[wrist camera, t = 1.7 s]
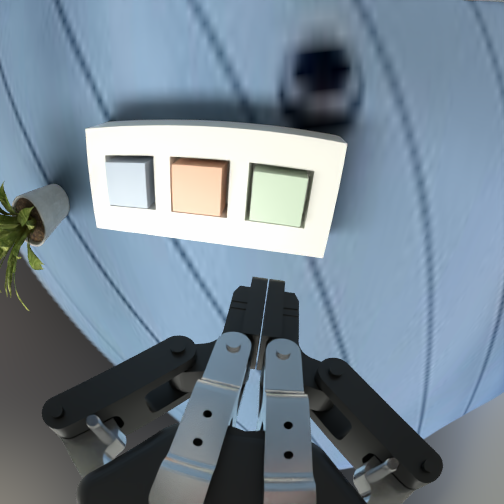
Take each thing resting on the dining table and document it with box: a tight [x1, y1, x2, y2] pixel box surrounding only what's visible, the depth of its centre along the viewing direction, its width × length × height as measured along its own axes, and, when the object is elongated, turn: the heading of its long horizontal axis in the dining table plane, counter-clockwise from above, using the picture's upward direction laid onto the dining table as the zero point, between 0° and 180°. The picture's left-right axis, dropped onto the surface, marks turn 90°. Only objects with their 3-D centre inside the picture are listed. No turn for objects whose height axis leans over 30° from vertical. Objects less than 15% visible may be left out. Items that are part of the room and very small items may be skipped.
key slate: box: [105, 156, 155, 208], centre depth 26 cm, size 4×4×2 cm
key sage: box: [249, 164, 308, 227], centre depth 25 cm, size 4×4×2 cm
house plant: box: [0, 182, 69, 309], centre depth 25 cm, size 14×14×16 cm
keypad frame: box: [86, 120, 347, 258], centre depth 27 cm, size 24×11×4 cm, turn 85°
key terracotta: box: [172, 158, 228, 216], centre depth 25 cm, size 4×4×2 cm
